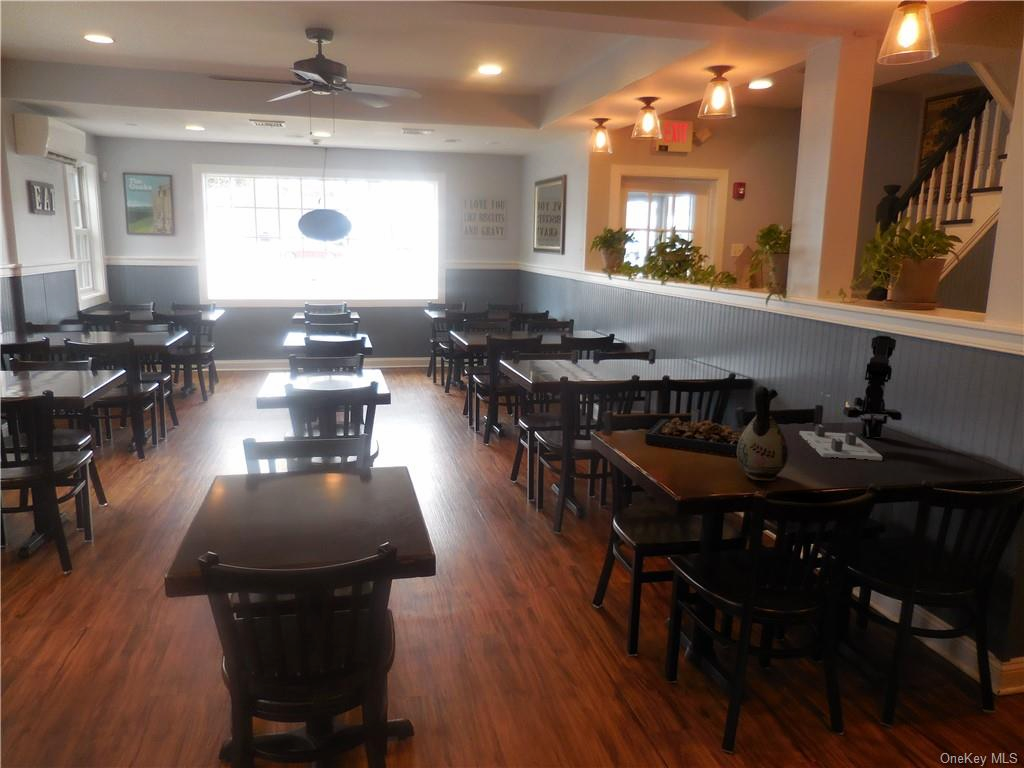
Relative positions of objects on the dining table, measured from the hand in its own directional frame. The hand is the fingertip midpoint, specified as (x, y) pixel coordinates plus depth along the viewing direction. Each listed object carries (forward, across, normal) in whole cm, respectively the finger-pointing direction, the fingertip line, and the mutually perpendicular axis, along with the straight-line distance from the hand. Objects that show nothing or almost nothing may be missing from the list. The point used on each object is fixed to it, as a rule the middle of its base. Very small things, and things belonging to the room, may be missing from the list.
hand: (869, 436), depth 265 cm
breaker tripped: (+3, +7, 0) cm, 7 cm away
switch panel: (+5, +10, 0) cm, 12 cm away
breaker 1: (+3, +14, -10) cm, 18 cm away
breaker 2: (+3, +15, +10) cm, 18 cm away
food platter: (+6, +57, +6) cm, 58 cm away
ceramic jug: (+5, +49, +43) cm, 65 cm away
